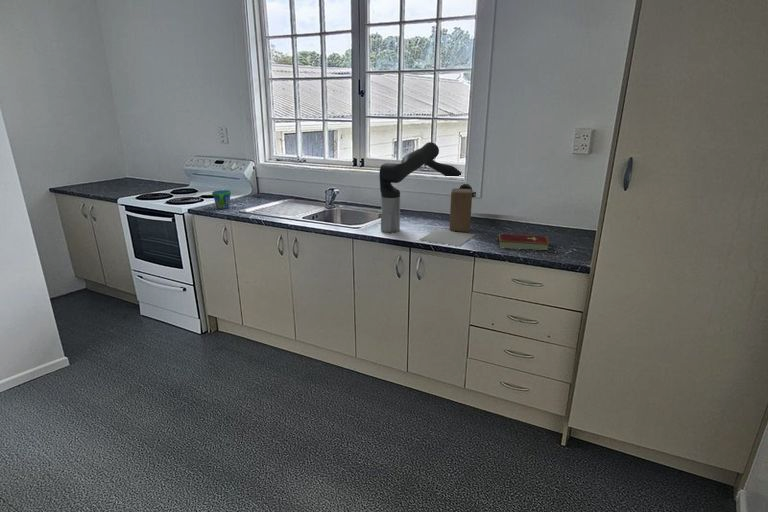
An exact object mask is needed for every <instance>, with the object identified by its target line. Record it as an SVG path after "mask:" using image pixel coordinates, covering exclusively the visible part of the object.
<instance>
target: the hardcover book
mask: <svg viewBox="0 0 768 512" xmlns="http://www.w3.org/2000/svg"><path fill="white" fill-rule="evenodd" d="M498 240H499V241H498ZM498 240H497V241H498V245H500V247H504V248H523V249H540V250H548V251H549V245H550V241H549V238H548V236H546V235H545V236H544V235H543V236H542V235H526V234H509V233H498ZM500 247H499V248H500ZM504 248H503V249H504Z"/></svg>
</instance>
